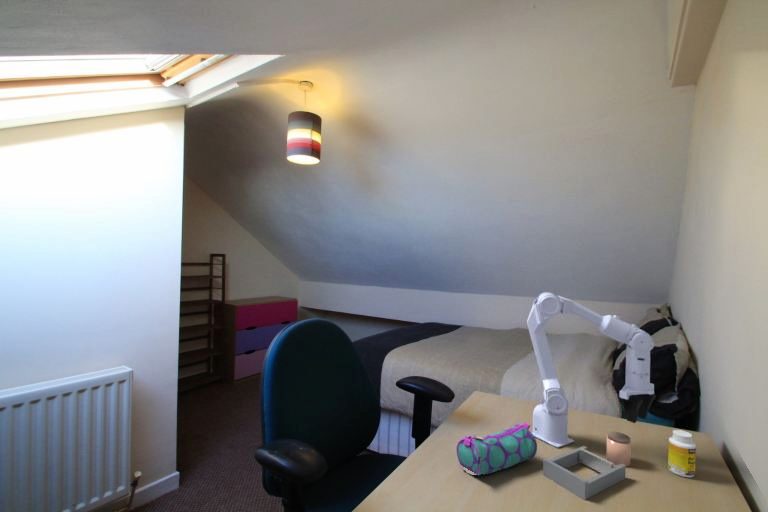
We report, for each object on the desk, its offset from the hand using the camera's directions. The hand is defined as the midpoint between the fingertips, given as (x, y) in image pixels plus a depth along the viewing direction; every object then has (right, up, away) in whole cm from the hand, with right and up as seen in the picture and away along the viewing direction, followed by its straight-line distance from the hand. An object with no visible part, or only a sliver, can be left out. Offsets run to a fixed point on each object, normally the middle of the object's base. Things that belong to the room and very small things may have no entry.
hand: (636, 419), depth 108 cm
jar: (-8, -9, -4) cm, 13 cm away
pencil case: (-42, -9, -8) cm, 44 cm away
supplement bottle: (+5, -10, -9) cm, 15 cm away
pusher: (-17, -9, -10) cm, 21 cm away
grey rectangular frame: (-21, -9, -12) cm, 26 cm away
